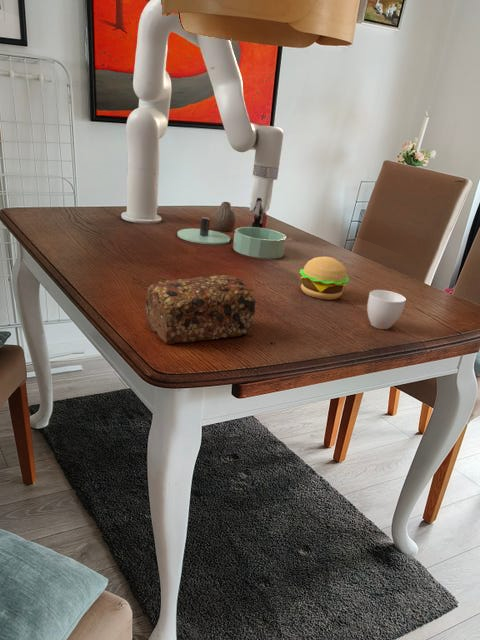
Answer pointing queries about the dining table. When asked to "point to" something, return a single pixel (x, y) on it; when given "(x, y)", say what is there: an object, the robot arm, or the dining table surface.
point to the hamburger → (324, 278)
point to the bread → (200, 308)
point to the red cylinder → (263, 220)
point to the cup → (384, 308)
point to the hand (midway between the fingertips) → (257, 233)
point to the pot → (259, 242)
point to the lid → (204, 234)
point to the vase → (224, 217)
